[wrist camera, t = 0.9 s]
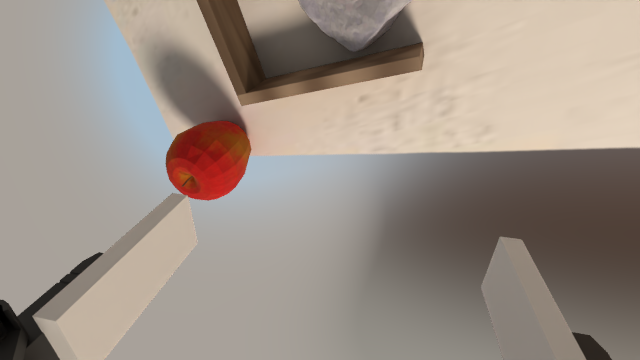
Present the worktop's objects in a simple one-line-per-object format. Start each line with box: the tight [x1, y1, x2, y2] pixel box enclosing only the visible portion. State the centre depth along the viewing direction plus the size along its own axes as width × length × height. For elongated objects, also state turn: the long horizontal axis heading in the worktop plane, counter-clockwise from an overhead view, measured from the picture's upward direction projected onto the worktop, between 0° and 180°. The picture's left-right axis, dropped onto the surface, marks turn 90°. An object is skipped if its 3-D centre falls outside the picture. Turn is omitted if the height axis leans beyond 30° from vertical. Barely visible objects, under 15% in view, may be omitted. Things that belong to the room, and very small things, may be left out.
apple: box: [166, 121, 251, 200], centre depth 40 cm, size 9×9×12 cm
